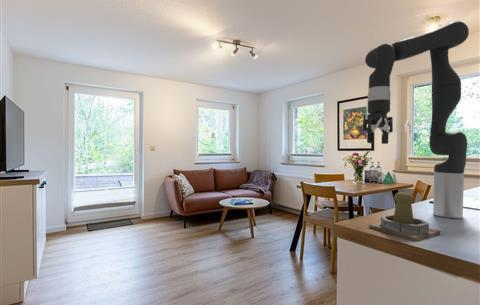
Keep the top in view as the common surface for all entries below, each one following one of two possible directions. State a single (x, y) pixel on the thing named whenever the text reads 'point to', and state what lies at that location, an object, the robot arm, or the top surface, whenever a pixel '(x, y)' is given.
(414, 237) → the socket base
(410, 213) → the cork
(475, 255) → the top surface
